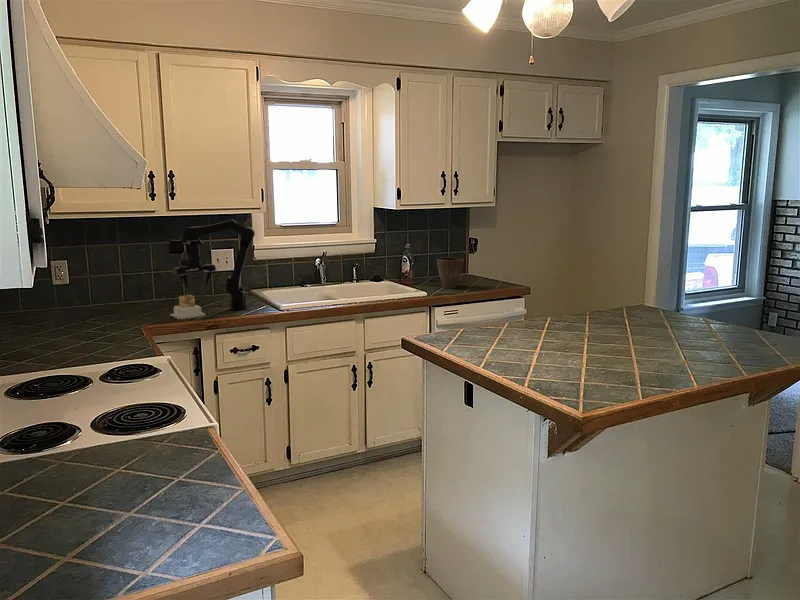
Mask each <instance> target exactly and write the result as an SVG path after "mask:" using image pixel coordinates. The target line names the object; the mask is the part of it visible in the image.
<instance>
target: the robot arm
mask: <svg viewBox="0 0 800 600" xmlns="http://www.w3.org/2000/svg"><path fill="white" fill-rule="evenodd" d="M230 229H231V230H233V231H234V232H236V233H237V234H238V235H240V244H239V245H240V246H239V250H238V254H237V258H236V260H235V264H234V267H233V271H232V274H231V276H230V275H228V276H227V279H226V283H225V285H224V287H225V291H226V292H227V293H228V294H230V297H229V298H230V299H229V309H230V310H232V311H243V310H248V309H249V308H248V306H247V301H246V300H247V299H246V295H244V293H245V289H244V288H243V287H242V286H241V276H242V271H243V269H244V268H243V267H244V265H245V261H246V257H247V254H248V250H249V247H250V245H251V243H252V241H253V239H254V237H255V235H256V231H255V230H254V228H252V227H251V226H245V225H243V224H242V223H240V222H238V221H236V220H235V219H228V220H224V221H221V222H218V223H214V224H213V223H212V224H208V225H203V226H202V225H199V226H189V227H187V228H186V229H185V230H184V235H183V237H182V238H181V239H178V240H177V239H170V240H169V244H168V254H169V255H170V256H177V255H178V256H181V255H184V253H186V256H185V259H184V258H180V259H178V265H179V266H178V267H177V266H176V267H175V266H174V267H173V268H172V269H171V270H172V274H174V275H175V276H177V277H179V279H180V280H181V282H182V285H183V286H184V289H186V290H187V289H188V278H187V277H188V275H187V274H186V273H190V272H192V273H193V272H201V271H202V274H203V286H204V288H205V287H207V285H208V283H209V280H210V277H211V276H212V274H214V272H216V271H217V268H216V265H215V264H212V263H206V264H203V265H201V259H202V256H201V254H200V253H201V252H200V245H204V241H202V240H201V239H200V238H201V237H203V236H205V235H208V234H212V233H213V234H214V233H217V232H221V231H226V230H230ZM197 239H198V240H197ZM189 241H190V242H189Z"/></svg>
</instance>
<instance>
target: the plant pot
mask: <svg viewBox="0 0 800 600" xmlns="http://www.w3.org/2000/svg"><path fill="white" fill-rule="evenodd" d="M464 259H465V258H462V257H451V256H448V257H445V256H444V257H438V258H436V263H437V271H438V275H439V279H440V281H441V286H442V288H444V289H457V287H458V286H459V282H460V279H461V275H462V271H463V268H464V267H463V266H464V262H465V260H464Z"/></svg>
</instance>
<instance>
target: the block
mask: <svg viewBox="0 0 800 600" xmlns="http://www.w3.org/2000/svg"><path fill="white" fill-rule="evenodd" d="M178 301H179V305H180V307H182V308H187V307H194V306H195V305H196V303H195V301H196V300H195V296H194V295H191V294H186V295H185V294H183V295H179V296H178Z"/></svg>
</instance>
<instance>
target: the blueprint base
mask: <svg viewBox="0 0 800 600" xmlns="http://www.w3.org/2000/svg"><path fill="white" fill-rule="evenodd" d="M171 316H173V317H172V318H174V317H175V318H174V319H176V318H177V319H176V320H179V319H181V320H187V319H192V318H193V319H194V318H199V317H200V318H201V317H204V316H205V317H206V313H205V312H202V307H201V306H200V305H197V304H195V306H194V307H187V308H182V307H180V304H178V305H175V306H173V313H170V317H171ZM186 318H187V319H186Z"/></svg>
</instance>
